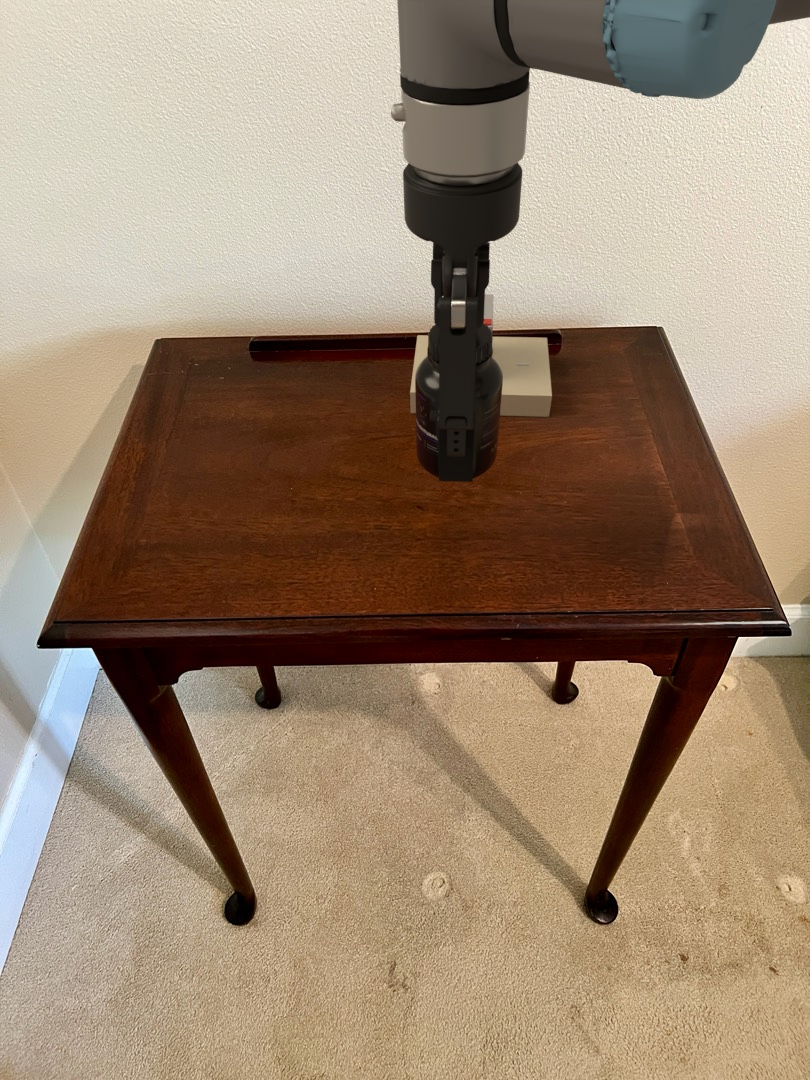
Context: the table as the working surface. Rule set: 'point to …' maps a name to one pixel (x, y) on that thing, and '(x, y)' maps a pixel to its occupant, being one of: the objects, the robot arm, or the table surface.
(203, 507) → the table surface
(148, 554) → the table surface
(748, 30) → the robot arm
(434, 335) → the supplement bottle
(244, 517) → the table surface
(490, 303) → the tap lever
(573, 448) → the table surface
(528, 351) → the sink deck
